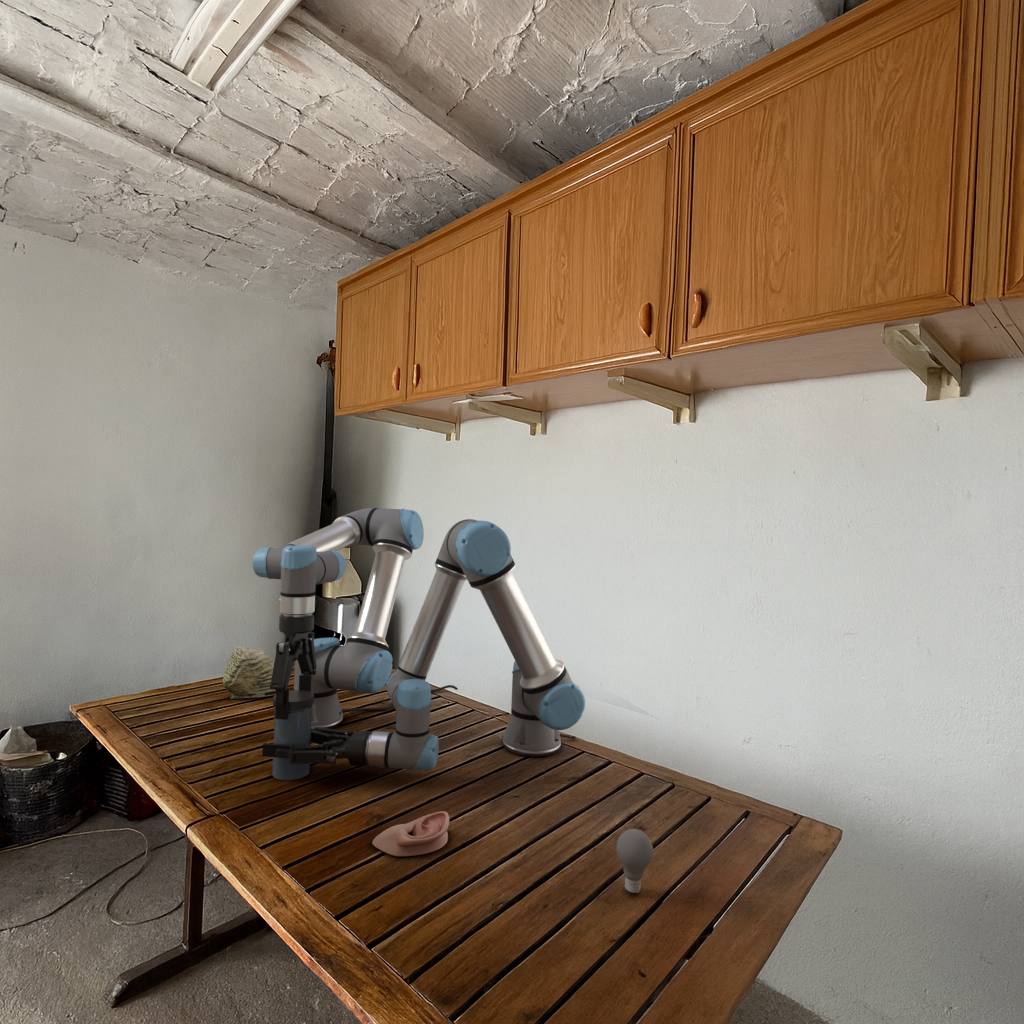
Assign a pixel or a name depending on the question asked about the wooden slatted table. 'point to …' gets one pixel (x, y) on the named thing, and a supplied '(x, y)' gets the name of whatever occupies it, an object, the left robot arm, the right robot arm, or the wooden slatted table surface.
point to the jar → (292, 733)
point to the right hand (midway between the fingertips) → (271, 742)
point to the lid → (299, 700)
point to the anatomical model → (415, 836)
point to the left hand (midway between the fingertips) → (293, 710)
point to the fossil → (249, 673)
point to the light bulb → (634, 857)
